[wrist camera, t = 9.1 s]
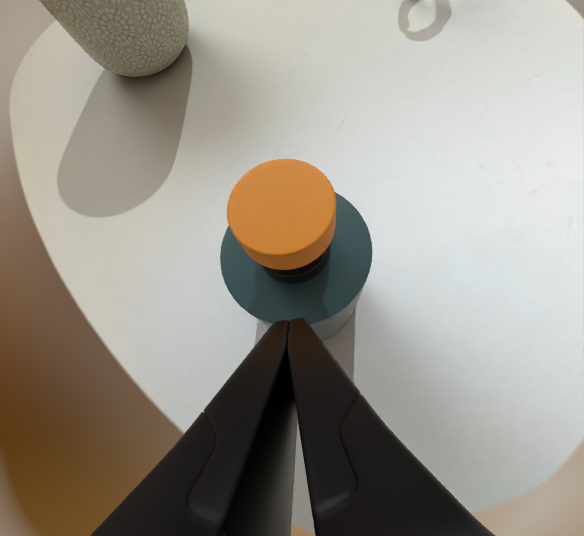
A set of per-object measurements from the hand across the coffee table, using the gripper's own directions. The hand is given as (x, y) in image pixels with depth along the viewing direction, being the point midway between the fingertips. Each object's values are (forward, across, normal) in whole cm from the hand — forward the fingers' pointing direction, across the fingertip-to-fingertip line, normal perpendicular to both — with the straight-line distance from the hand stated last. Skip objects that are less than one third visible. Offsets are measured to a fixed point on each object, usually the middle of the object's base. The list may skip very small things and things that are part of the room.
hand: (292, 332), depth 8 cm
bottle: (+13, 0, +6) cm, 14 cm away
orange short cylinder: (+4, 0, -2) cm, 5 cm away
